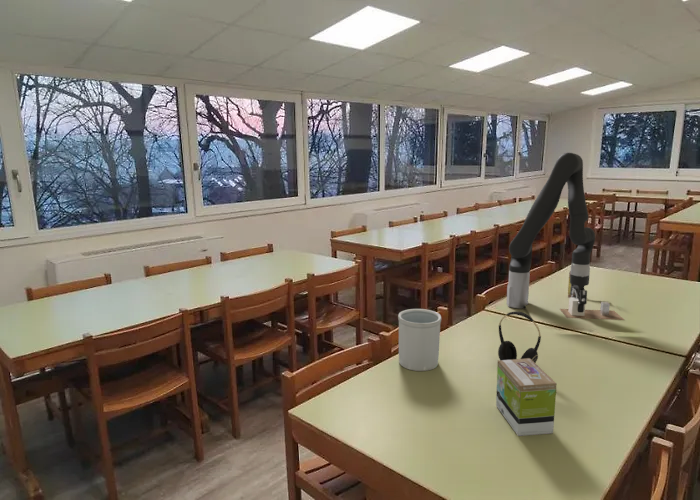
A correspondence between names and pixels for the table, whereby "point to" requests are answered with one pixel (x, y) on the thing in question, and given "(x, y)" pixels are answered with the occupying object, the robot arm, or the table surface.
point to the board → (593, 315)
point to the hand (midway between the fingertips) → (577, 309)
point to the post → (604, 308)
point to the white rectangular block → (575, 307)
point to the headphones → (508, 348)
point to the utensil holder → (419, 339)
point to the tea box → (526, 396)
